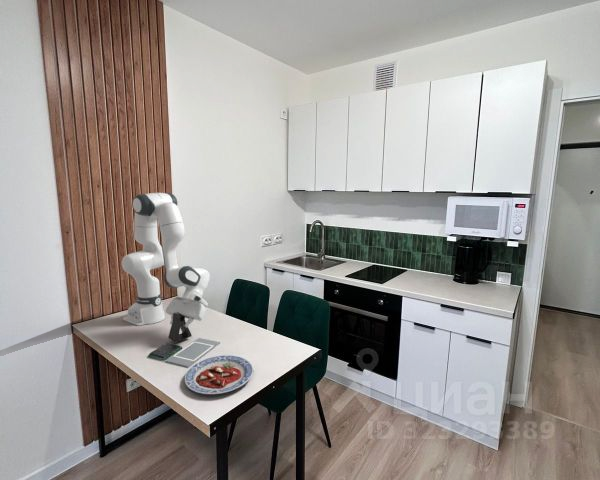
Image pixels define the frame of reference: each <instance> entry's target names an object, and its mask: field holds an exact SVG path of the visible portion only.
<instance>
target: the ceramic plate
mask: <svg viewBox="0 0 600 480" xmlns="http://www.w3.org/2000/svg"><path fill="white" fill-rule="evenodd" d="M253 374H254V367H253V364H252V362H250V361H249V360H247V359H246V358H243V357H241V356H238V355H237V356H236V355H228V354H227V355H217V356H212V357H208V358H205V359H203V360H200V361H198V362H196V364H195V363H194V364H193V365H191V366H190V367H189V369H188V370H187V372H186V373H185V375H184V383H185V385H186V386H187V388H188V389H190V390H191V391H193V392H195V393H198V394H203V395H219V394H220V395H221V394H225V393H228V392H229V393H230V392H232V391H234V390H237V389H239V388H242V386H244V385H245V384H247V382H248V381H250V379H251V378H252V376H253Z"/></svg>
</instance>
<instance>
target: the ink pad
mask: <svg viewBox="0 0 600 480" xmlns="http://www.w3.org/2000/svg"><path fill="white" fill-rule="evenodd" d="M182 349H183V346H181V345H179V344H174V343H169V342H165V343H164V344H162V345H160V346H159V347H157V348H156V349H155V350H153V351H151V352H149V354H147V357H148V358H151V359H155V360H159V361H163V362H165V361H166V360H167V359H168V358H170V357H171V356H173V355H174V354H176V353H177V352H179V351H180V350H182Z"/></svg>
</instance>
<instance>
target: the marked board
mask: <svg viewBox="0 0 600 480" xmlns="http://www.w3.org/2000/svg"><path fill="white" fill-rule="evenodd" d="M220 344H221V342H220V341H215V340H212V339H211V340H210V339H207V338H206V339H205V338H202V337H198V338H197V339H195V340H194V341H192V342H191V343H189V344H188V345H186V346H185V347H182V349H181V350H180V351H178V352H177V353H175V354H174V355H172V356H171V357H169V358H168V359H167V360H165V361H164V362H165V363H167V364H171V365H172V364H173V365H177V366H180V367H181V366H182V367H185V368H189V369H190V368H191V367H192V366H193V365H195V363H197V362H199V360H201V359H202V358H203V357H204V356H206V355H207V354H208V353H210V352H211V351H212V350H213V349H215V348H216V347H217V346H219V345H220Z"/></svg>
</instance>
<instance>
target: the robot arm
mask: <svg viewBox="0 0 600 480" xmlns="http://www.w3.org/2000/svg"><path fill="white" fill-rule="evenodd" d="M132 208H133V211H134V212H135V213H134V219H133V220H134V221H133V227H134V228H133V229H134V239H135V242H137V243H139V244H140V245H142V246H143V247H142V248H143V250H140V251H134V252H131V253H128V254H126V255H124V256H123V257H122V259H121V268H122V269H123V272H125V273H127V274H129V275H130V276H132V278H133V279H134V280H135V283H136V288H137V295H136V296H135V297H134V299H136V301H135V302H134V303H133V304H132V305H130V306H128V309H127V315H125V316H123V318H122V320H123V321H125V322H127V323H130V324H133V325H134V326H144V325H152V324H156V323H158V322H161V321H163V320H165V318H166V314H168V315H169V316H170V322H169V324H170V325H172V323H173V314H174V313H176V312H178V313H180V314H182V315H184V316H185V319H187V321H185V322H186V323H184V325H183V326H184V327H186V328H187V327H188V328H189V325H190V324H192V322H193V321H202V320H203V319H204V317H205V315H206V312H207V307H208V306H209V303H208V302H207V301H206V300H205V299H204V298H203V294H204V292H205V291H206V289H207V288H208V285H209V283H210V278H211V275H210V272H209V271H208V270H207V269H205V268H203V267H192V266H190V265H183V266H179V265H178V258H177V257H178V256H177V247H178V246H179V244H180V243H181V242H182V241H183V240H184V237H185V235H186V229H185V228H186V227H185V224H184V220H183V217H182V213H181V212H180V209H179V207H178V200H177V197H176V196H175V195H174V194H172V193H169V192H151V193H140V194H137V195H135V196H134V197H133V199H132ZM158 226H159V230H160V233H161V234H160V235H161V244H160V241H159V236H158V235H159V234H158ZM162 266H164V274H163V280H164V283H165V285H166V286H167V287H168V288H170V289H178V288H180V287H183V288H185V290H184V292H183V294H182V296H175V297H174V298H172V299H171V301H170V302H169V304H168V305H167V307H166V308H165V311H164V306H163V301H162V293H161V288H160V286H161V285H160V279H158V277H156V276H154V275H151V270H155V269H158V268H161V267H162ZM165 313H166V314H165ZM178 313H177V314H178ZM180 314H178V315H180Z"/></svg>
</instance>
